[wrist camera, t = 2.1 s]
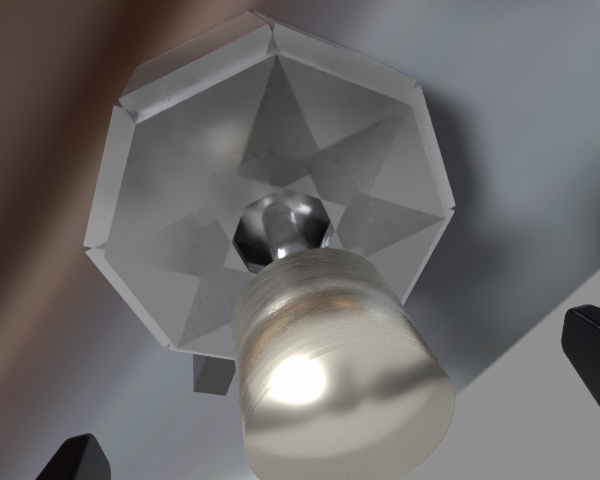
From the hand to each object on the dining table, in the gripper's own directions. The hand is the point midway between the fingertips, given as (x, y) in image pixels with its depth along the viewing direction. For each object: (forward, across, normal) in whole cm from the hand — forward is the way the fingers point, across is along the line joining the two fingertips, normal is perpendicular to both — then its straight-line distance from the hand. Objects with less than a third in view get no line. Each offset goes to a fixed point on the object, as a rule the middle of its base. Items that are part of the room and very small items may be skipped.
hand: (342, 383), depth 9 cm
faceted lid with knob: (+12, +1, +1) cm, 12 cm away
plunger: (+8, 0, 0) cm, 8 cm away
